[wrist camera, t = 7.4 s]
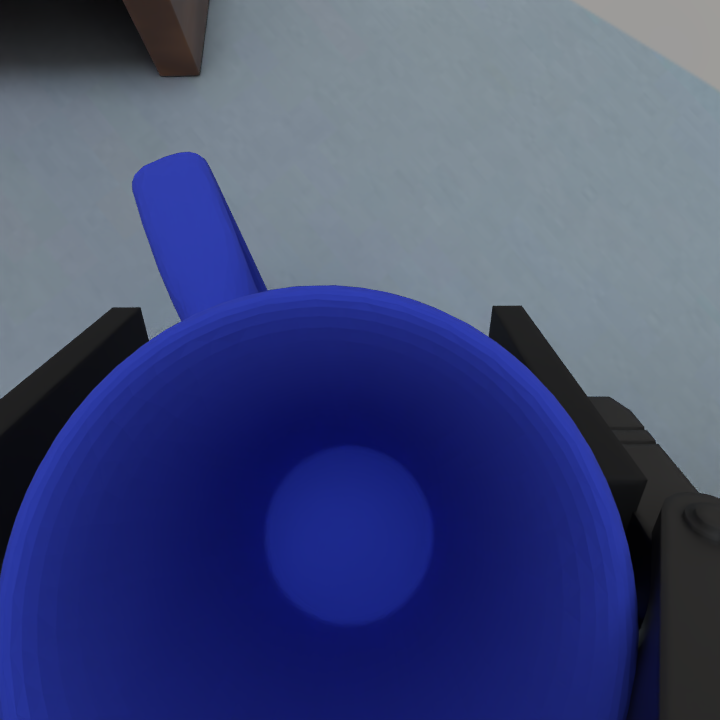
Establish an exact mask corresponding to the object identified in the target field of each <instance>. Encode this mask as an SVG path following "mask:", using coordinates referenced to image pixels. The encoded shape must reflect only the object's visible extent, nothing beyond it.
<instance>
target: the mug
mask: <svg viewBox="0 0 720 720" xmlns="http://www.w3.org/2000/svg"><path fill="white" fill-rule="evenodd" d="M132 190H133V194H134V197H135V200H136V204H137V207H138V210H139V214H140V217H141V221H142V224H143V227H144V230H145V232H146V235H147V238H148V241H149V244H150V247H151V250H152V252H153V255H154V258H155V261H156V264H157V267H158V270H159V272H160V274H161V277H162V279H163V281H164V284H165V286H166V288H167V291H168V293H169V295H170V298H171V300H172V302H173V305H174V307H175V309H176V311H177V313H178V315H179V317H180V319H181V322H179V323H177V324H176V325H174V326H172V327H170V328H168V329H166V330H165V331H163V332H162V333H160V334H159V335H157V336H156V337H154V338H153V339H151V340H150V341H148V342H147V343H145V344H144V345H142V346H141V347H140V348H139V349H137V350H136V351H135V352H134V353H132V354H131V355H130V356H129V357H127V358H126V359H125V360H124V361H123V362H121V363H120V364H119V365H118V366H116V367H115V368H114V369H113V370H112V371H111V372H110V373H109V374H108V375H107V376H106V377H105V378H104V379H103V380H102V381H101V382H100V383H99V384H98V385H97V386H96V387H95V388H94V389H93V390H92V391H91V393H90V394H89V395H88V396H87V397H86V398H85V400H84V401H83V402H82V403H81V404H80V406H79V407H78V408H77V409H76V410H75V411H74V413H73V414H72V415H71V417H70V418H69V420H68V421H67V422H66V424H65V425H64V427H63V428H62V429H61V431H60V432H59V434H58V435H57V436H56V438H55V440H54V441H53V443H52V445H51V447H50V448H49V450H48V452H47V453H46V455H45V457H44V459H43V460H42V462H41V464H40V465H39V467H38V469H37V471H36V473H35V475H34V477H33V479H32V481H31V483H30V485H29V487H28V489H27V491H26V494H25V496H24V499H23V501H22V504H21V506H20V509H19V511H18V514H17V516H16V519H15V522H14V525H13V529H12V532H11V535H10V538H9V542H8V545H7V549H6V553H5V557H4V560H3V565H2V570H1V575H0V720H626V719H627V714H628V709H629V704H630V698H631V693H632V688H633V683H634V677H635V672H636V664H637V657H638V643H639V628H638V606H637V594H636V587H635V579H634V571H633V566H632V561H631V556H630V551H629V546H628V542H627V539H626V535H625V532H624V528H623V525H622V521H621V518H620V514H619V511H618V509H617V506H616V503H615V501H614V498H613V496H612V493H611V490H610V488H609V485H608V483H607V480H606V478H605V476H604V474H603V472H602V470H601V468H600V466H599V464H598V462H597V460H596V458H595V456H594V454H593V452H592V450H591V448H590V447H589V445H588V444H587V442H586V440H585V439H584V437H583V436H582V434H581V432H580V431H579V429H578V428H577V426H576V425H575V423H574V421H573V420H572V419H571V417H570V416H569V415H568V413H567V412H566V411H565V409H564V408H563V407H562V406H561V404H560V403H559V402H558V400H557V399H556V398H555V396H554V395H553V394H552V393H551V392H550V391H549V390H548V389H547V388H546V387H545V386H544V385H543V384H542V383H541V381H540V380H539V379H538V378H537V377H536V376H535V375H534V374H533V373H532V372H531V371H530V370H529V369H528V368H527V367H526V366H525V365H524V364H523V363H521V362H520V361H519V360H518V359H517V358H516V357H515V356H513V355H512V354H511V353H510V352H508V351H507V350H506V349H505V348H503V347H502V346H501V345H499V344H498V343H497V342H496V341H494V340H493V339H491V338H489V337H488V336H486V335H485V334H483V333H482V332H480V331H479V330H477V329H475V328H474V327H472V326H471V325H469V324H467V323H465V322H463V321H461V320H459V319H457V318H455V317H453V316H451V315H449V314H447V313H445V312H443V311H441V310H439V309H436V308H434V307H431V306H429V305H426V304H423V303H421V302H418V301H415V300H413V299H410V298H406V297H402V296H399V295H395V294H391V293H388V292H383V291H377V290H371V289H366V288H359V287H348V286H337V285H329V286H295V287H288V288H281V289H273V290H268V291H267V288H266V286H265V284H264V282H263V280H262V278H261V275H260V273H259V271H258V269H257V267H256V265H255V262H254V260H253V258H252V256H251V254H250V252H249V249H248V247H247V245H246V243H245V241H244V239H243V237H242V235H241V232H240V230H239V228H238V226H237V224H236V222H235V220H234V218H233V215H232V213H231V211H230V209H229V207H228V205H227V203H226V201H225V198H224V196H223V194H222V192H221V190H220V188H219V186H218V184H217V181H216V179H215V177H214V175H213V173H212V171H211V169H210V167H209V165H208V163H207V162H206V160H205V159H204V158H202V157H201V156H200V155H198V154H196V153H191V152H181V153H176V154H173V155H169V156H166V157H163V158H161V159H159V160H157V161H154V162H152V163H150V164H148V165H145V166H143V167H142V168H141V169H140V170H139V171H138V172H137V173H136V174H135V176H134V178H133V181H132Z"/></svg>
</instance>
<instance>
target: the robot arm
mask: <svg viewBox="0 0 720 720" xmlns="http://www.w3.org/2000/svg"><path fill="white" fill-rule="evenodd" d="M489 338H491V339H493V340H494V341H496V342H497V343H498V344H499V345H501V346H502V347H503V348H505V349H506V350H507V351H508V352H510V353H511V354H512V355H513V356H515V357H516V358H517V359H518V360H519V361H520V362H521V363H523V364H524V365H525V366H526V367H527V368H528V369H529V370H530V371H531V372H532V373H533V374H534V375H535V376H536V377H537V378H538V379H539V380H540V381H541V383H542V384H543V385H544V386H545V387H546V388H547V389H548V390H549V391H550V392H551V393H552V394H553V395H554V396H555V398H556V399H557V400H558V402H559V403H560V404H561V406H562V407H563V408H564V409H565V411H566V412H567V413H568V415H569V416H570V417H571V419H572V420H573V421H574V423H575V425H576V426H577V428H578V429H579V431H580V432H581V434H582V436H583V437H584V439H585V440H586V442H587V444H588V445H589V447H590V448H591V450H592V452H593V454H594V456H595V458H596V460H597V462H598V464H599V466H600V468H601V470H602V472H603V474H604V476H605V478H606V480H607V483H608V485H609V488H610V490H611V493H612V496H613V498H614V501H615V503H616V506H617V509H618V511H619V514H620V518H621V521H622V525H623V528H624V532H625V535H626V539H627V542H628V546H629V551H630V556H631V561H632V566H633V571H634V579H635V587H636V594H637V606H638V628H639V643H638V657H637V664H636V672H635V677H634V683H633V688H632V693H631V698H630V704H629V709H628V714H627V719H626V720H720V499H719V498H716V497H714V496H711V495H707V494H701V493H699V492H698V491H697V490H696V489H695V488H694V486H693V485H692V484H691V483H690V482H689V480H688V479H687V478H686V477H685V476H684V474H683V473H682V472H681V471H680V470H679V468H678V467H677V466H676V465H675V464H674V462H673V461H672V460H671V459H670V457H669V456H668V455H667V454H666V453H665V451H664V450H663V449H662V448H661V447H660V445H659V444H656V443H655V439H654V438H653V437H652V436H651V435H650V433H649V432H648V431H647V430H644V426H643V425H642V424H641V423H640V421H639V420H638V419H637V418H636V417H635V415H634V414H633V413H632V412H631V411H630V410H629V409H627V408H626V407H624V406H623V405H621V404H620V403H618V402H617V401H615V400H614V399H612V398H610V397H587V395H586V394H585V393H584V391H583V390H582V388H581V387H580V386H579V384H578V383H577V382H576V380H575V379H574V377H573V376H572V375H571V373H570V372H569V370H568V369H567V368H566V366H565V365H564V364H563V362H562V361H561V359H560V358H559V357H558V355H557V354H556V353H555V351H554V350H553V348H552V347H551V346H550V344H549V343H548V342H547V340H546V339H545V337H544V336H543V335H542V333H541V332H540V330H539V329H538V328H537V326H536V325H535V324H534V322H533V321H532V319H531V318H530V317H529V315H528V314H527V313H526V311H525V310H524V308H523V307H522V306H493V308H492V316H491V323H490V331H489ZM148 341H149V339H148V335H147V331H146V327H145V323H144V319H143V316H142V312H141V308H140V307H136V308H112V309H110V310H109V311H108V312H107V313H105V314H104V315H103V316H102V317H101V318H99V319H98V320H97V321H96V322H94V323H93V324H92V325H91V326H90V327H88V328H87V329H86V330H85V331H83V332H82V333H81V334H80V335H79V336H77V337H76V338H75V339H74V340H72V341H71V342H70V343H69V344H68V345H66V346H65V347H64V348H63V349H61V350H60V351H59V352H58V353H57V354H55V355H54V356H53V357H52V358H50V359H49V360H48V361H47V362H46V363H44V364H43V365H42V366H41V367H39V368H38V369H37V370H36V371H35V372H33V373H32V374H31V375H30V376H28V377H27V378H26V379H25V380H24V381H22V382H21V383H20V384H19V385H17V386H16V387H15V388H14V389H13V390H11V391H10V392H9V393H8V394H6V395H5V396H4V397H3V398H1V399H0V575H1V570H2V565H3V560H4V557H5V553H6V549H7V545H8V542H9V538H10V535H11V532H12V529H13V525H14V522H15V519H16V516H17V514H18V511H19V509H20V506H21V504H22V501H23V499H24V496H25V494H26V491H27V489H28V487H29V485H30V483H31V481H32V479H33V477H34V475H35V473H36V471H37V469H38V467H39V465H40V464H41V462H42V460H43V459H44V457H45V455H46V453H47V452H48V450H49V448H50V447H51V445H52V443H53V441H54V440H55V438H56V436H57V435H58V434H59V432H60V431H61V429H62V428H63V427H64V425H65V424H66V422H67V421H68V420H69V418H70V417H71V415H72V414H73V413H74V411H75V410H76V409H77V408H78V407H79V406H80V404H81V403H82V402H83V401H84V400H85V398H86V397H87V396H88V395H89V394H90V393H91V391H92V390H93V389H94V388H95V387H96V386H97V385H98V384H99V383H100V382H101V381H102V380H103V379H104V378H105V377H106V376H107V375H108V374H109V373H110V372H111V371H112V370H113V369H114V368H115V367H116V366H118V365H119V364H120V363H121V362H123V361H124V360H125V359H126V358H127V357H129V356H130V355H131V354H132V353H134V352H135V351H136V350H137V349H139V348H140V347H141V346H142V345H144V344H145V343H147V342H148Z"/></svg>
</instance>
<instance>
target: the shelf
mask: <svg viewBox="0 0 720 720" xmlns="http://www.w3.org/2000/svg"><path fill="white" fill-rule="evenodd" d="M123 2H124V4H125V6H126V8H127V10H128V12H129V14H130V16H131V18H132V20H133V22H134V24H135V26H136V28H137V30H138V32H139V34H140V36H141V38H142V40H143V42H144V44H145V46H146V48H147V50H148V52H149V54H150V56H151V59H152V61H153V63H154V65H155V67H156V69H157V71H158V73H159V75H160V76H198V75H200V68H201V60H202V52H203V44H204V36H205V28H206V20H207V12H208V3H209V0H123Z"/></svg>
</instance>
